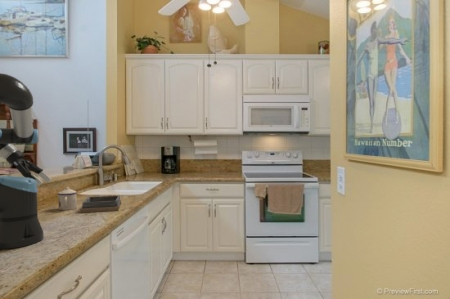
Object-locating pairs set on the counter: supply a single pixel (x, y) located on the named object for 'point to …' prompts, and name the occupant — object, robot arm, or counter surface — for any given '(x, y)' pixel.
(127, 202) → the counter surface
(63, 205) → the teacup with lid
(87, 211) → the collar stand
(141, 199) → the counter surface
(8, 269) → the counter surface
